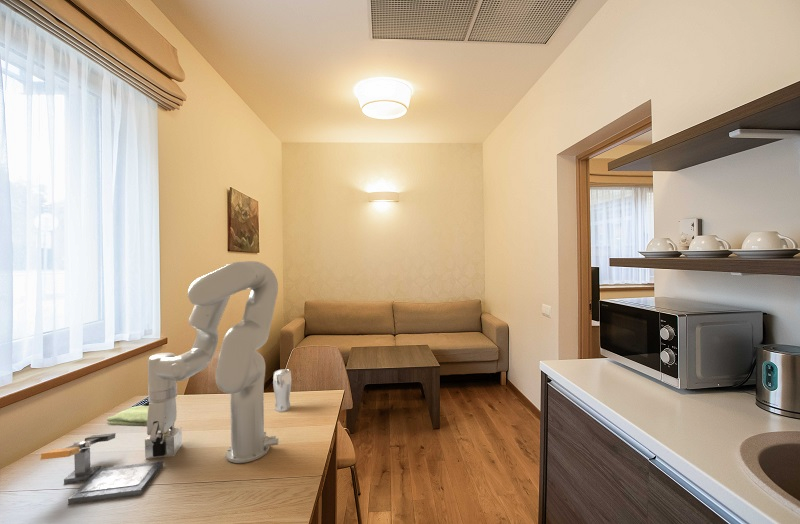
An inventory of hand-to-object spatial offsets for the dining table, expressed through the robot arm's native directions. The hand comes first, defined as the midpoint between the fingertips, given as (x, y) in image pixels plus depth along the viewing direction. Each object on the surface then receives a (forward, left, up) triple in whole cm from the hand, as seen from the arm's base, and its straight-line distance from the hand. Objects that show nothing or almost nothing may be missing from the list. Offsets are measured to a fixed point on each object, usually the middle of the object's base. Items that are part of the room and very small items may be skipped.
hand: (164, 449), depth 112 cm
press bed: (+8, +14, -1) cm, 16 cm away
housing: (0, 0, -1) cm, 1 cm away
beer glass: (-33, -25, -1) cm, 41 cm away
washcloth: (+20, -29, -2) cm, 35 cm away
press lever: (+17, +9, +8) cm, 21 cm away
